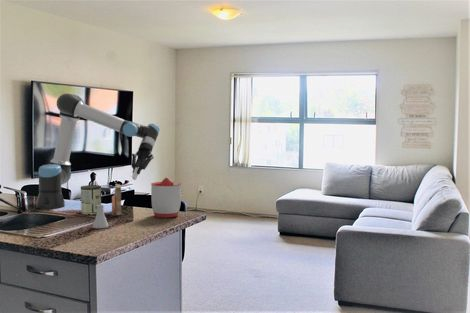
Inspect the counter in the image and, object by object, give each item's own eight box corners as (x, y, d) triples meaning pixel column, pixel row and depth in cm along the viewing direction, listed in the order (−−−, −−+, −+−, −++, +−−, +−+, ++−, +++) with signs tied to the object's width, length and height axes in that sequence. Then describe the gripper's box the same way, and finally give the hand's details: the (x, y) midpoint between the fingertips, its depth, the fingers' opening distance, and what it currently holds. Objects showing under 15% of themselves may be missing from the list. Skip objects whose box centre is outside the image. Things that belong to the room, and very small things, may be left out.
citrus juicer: (190, 215, 239) (190, 177, 238) (163, 220, 226) (164, 180, 225) (170, 211, 250) (170, 175, 248) (144, 215, 237) (144, 177, 235)
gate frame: (115, 210, 251) (115, 188, 250) (120, 210, 251) (120, 188, 250) (110, 215, 236) (110, 192, 235) (116, 215, 236) (116, 192, 235)
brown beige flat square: (115, 209, 247) (115, 183, 246) (119, 209, 248) (119, 183, 247) (116, 215, 233) (116, 187, 232) (121, 214, 233) (120, 187, 232)
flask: (91, 226, 212) (91, 204, 211) (107, 225, 215) (107, 203, 214) (93, 229, 205) (93, 207, 204) (109, 228, 208) (109, 206, 207)
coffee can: (85, 210, 249) (85, 184, 248) (104, 211, 248) (104, 185, 247) (77, 214, 238) (77, 187, 237) (96, 214, 237) (96, 187, 236)
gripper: (158, 150, 267) (147, 183, 252) (138, 150, 270) (125, 181, 255) (155, 142, 261) (142, 174, 246) (134, 141, 264) (120, 173, 249)
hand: (133, 178), depth 250 cm, fingers closed
